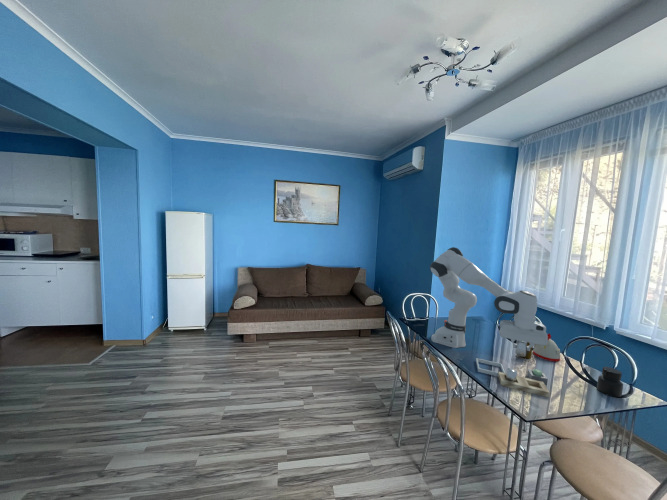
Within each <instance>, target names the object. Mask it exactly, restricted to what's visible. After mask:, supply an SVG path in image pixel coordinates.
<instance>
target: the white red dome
mask: <svg viewBox="0 0 667 500" xmlns="http://www.w3.org/2000/svg"><path fill="white" fill-rule="evenodd" d="M547 336H548V343H547V345H540V344H534V345H533V348H532V355H534V356H536V357H538V358H539V359H543V360H545V361H550V362H559V361H560V360H561V349H560V348H559V347H558V345H557V344H556V342H555V341H554V340H552V335H551V334H550V333H547Z"/></svg>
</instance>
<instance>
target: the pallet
mask: <svg viewBox="0 0 667 500" xmlns="http://www.w3.org/2000/svg"><path fill="white" fill-rule="evenodd" d="M506 374H507V372H505V373H502V371H498V376H497V378H498V380H499V383H500V386H502V387H506V388H509V389H514V390H517V391H522V392H526V393H530V394H534V395H538V396H541V397H542V396H543V397H546V398H550V394H551V393H550V391H549V389H548V387H547V385H545V384H544V383H543V382H541V381H537V380H533V379H529V377H524V376H520V375H517V377H516V382H512V381H508V380H506Z"/></svg>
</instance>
